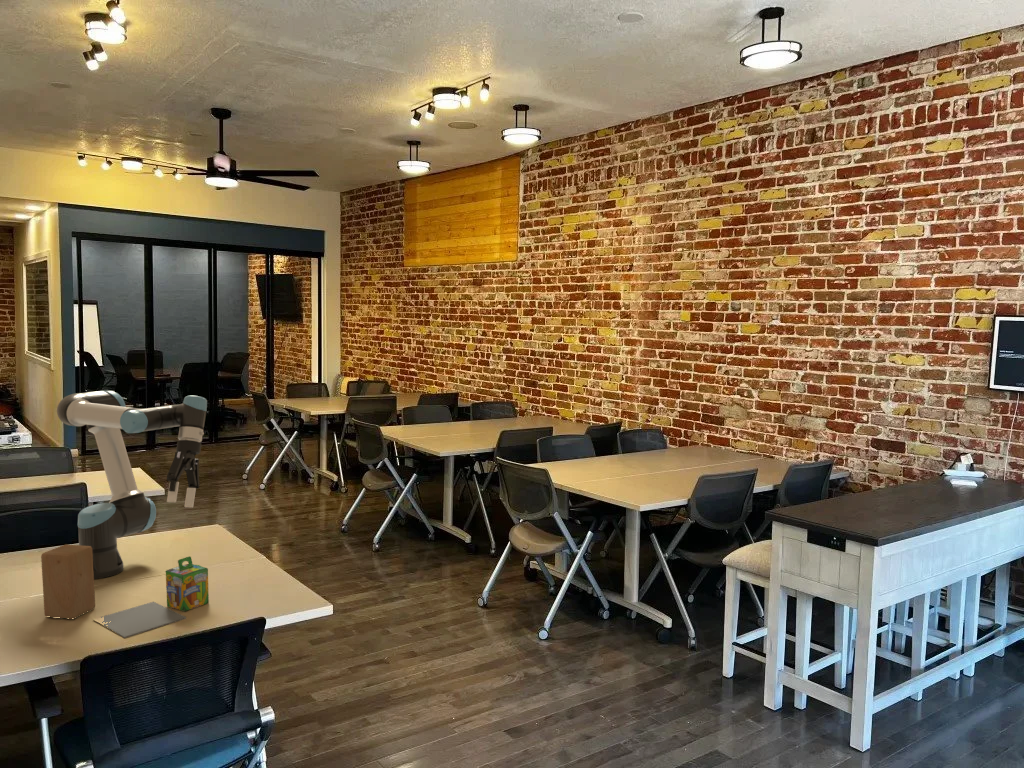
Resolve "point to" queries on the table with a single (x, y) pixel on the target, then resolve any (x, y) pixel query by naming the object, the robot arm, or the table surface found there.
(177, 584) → the chalk box
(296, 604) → the table surface
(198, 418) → the robot arm
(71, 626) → the table surface
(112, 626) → the mat
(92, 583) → the wooden block
